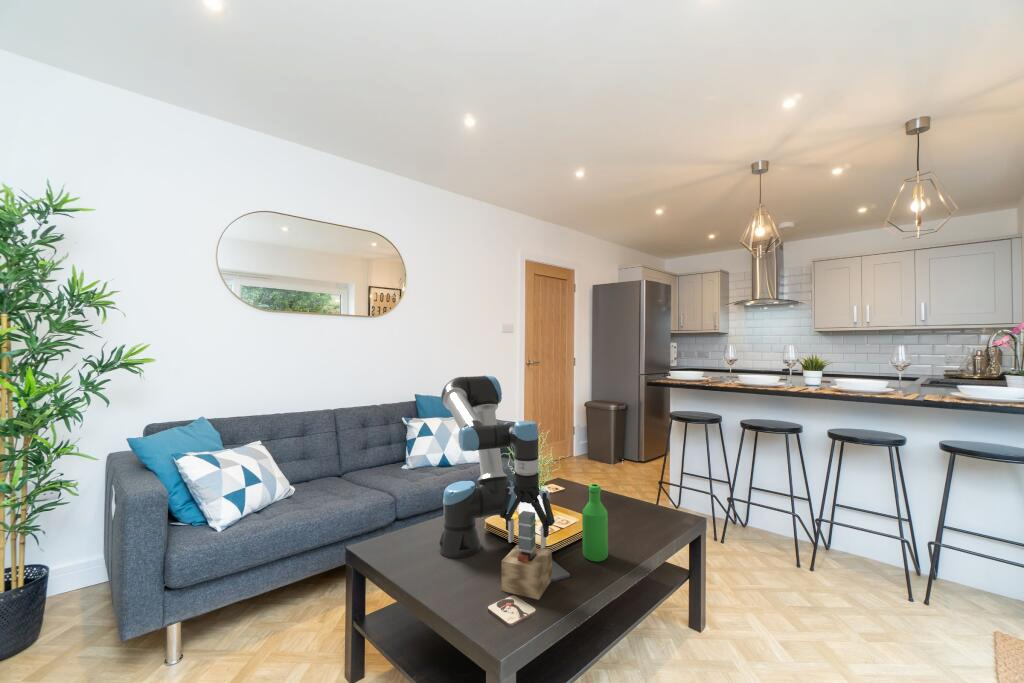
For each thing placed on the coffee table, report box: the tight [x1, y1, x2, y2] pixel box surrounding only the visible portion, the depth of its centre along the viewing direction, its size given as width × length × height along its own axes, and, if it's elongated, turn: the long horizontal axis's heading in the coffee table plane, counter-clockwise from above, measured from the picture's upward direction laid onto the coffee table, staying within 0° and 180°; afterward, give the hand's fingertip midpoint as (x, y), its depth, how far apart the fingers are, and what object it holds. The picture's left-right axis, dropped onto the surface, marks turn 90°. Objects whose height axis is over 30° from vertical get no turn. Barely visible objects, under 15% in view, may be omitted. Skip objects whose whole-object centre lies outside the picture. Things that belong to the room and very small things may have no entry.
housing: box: [500, 544, 553, 601], centre depth 137 cm, size 12×12×11 cm
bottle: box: [581, 483, 609, 562], centre depth 155 cm, size 9×9×25 cm
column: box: [517, 510, 537, 561], centre depth 137 cm, size 4×4×22 cm
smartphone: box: [550, 559, 571, 583], centre depth 147 cm, size 8×1×15 cm
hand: (527, 543), depth 137 cm, fingers open, 10 cm apart
